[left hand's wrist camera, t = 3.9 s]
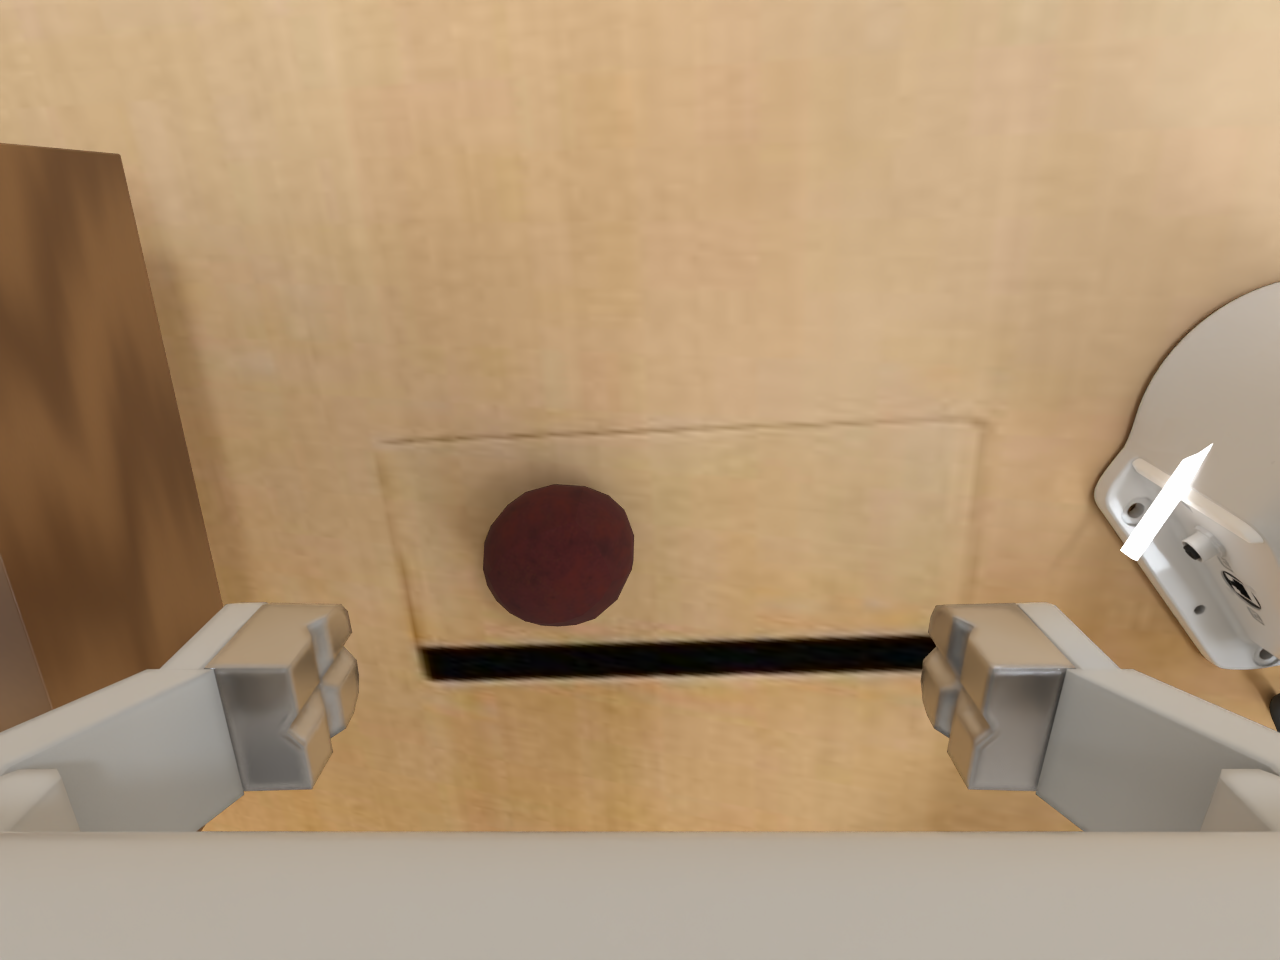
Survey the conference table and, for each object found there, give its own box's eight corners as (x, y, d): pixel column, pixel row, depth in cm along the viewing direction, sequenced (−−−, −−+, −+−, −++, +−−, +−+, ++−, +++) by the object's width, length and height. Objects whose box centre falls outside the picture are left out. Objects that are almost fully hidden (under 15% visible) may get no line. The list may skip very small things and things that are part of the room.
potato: (471, 507, 40) (438, 567, 34) (591, 437, 39) (581, 486, 32) (546, 607, 42) (529, 682, 36) (662, 544, 41) (666, 611, 34)
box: (-32, 153, 27) (-376, 128, 18) (120, 153, 27) (-145, 129, 18) (144, 752, 37) (-21, 934, 28) (256, 752, 37) (129, 935, 28)
